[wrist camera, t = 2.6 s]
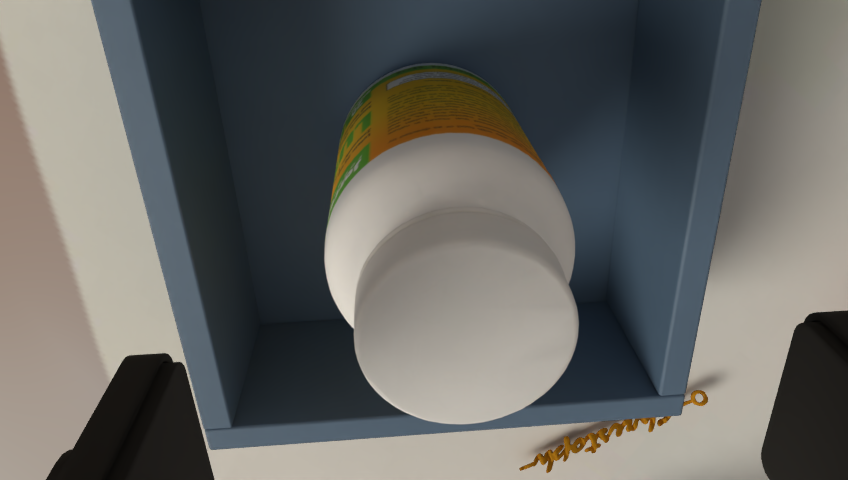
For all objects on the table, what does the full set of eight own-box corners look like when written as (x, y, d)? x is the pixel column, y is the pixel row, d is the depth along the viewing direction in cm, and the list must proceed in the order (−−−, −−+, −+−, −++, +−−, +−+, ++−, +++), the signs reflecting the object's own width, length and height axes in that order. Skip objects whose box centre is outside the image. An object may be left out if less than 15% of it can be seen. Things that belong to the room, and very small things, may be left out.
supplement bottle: (340, 53, 18) (310, 193, 10) (528, 64, 19) (653, 207, 10) (338, 224, 21) (310, 454, 12) (504, 230, 22) (588, 456, 13)
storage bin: (156, -93, 17) (67, -86, 12) (673, -115, 17) (786, -117, 13) (243, 335, 23) (209, 451, 19) (620, 310, 24) (681, 416, 19)
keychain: (697, 378, 26) (708, 395, 25) (704, 396, 26) (715, 414, 25) (513, 452, 27) (517, 471, 26) (522, 468, 27) (527, 487, 26)
